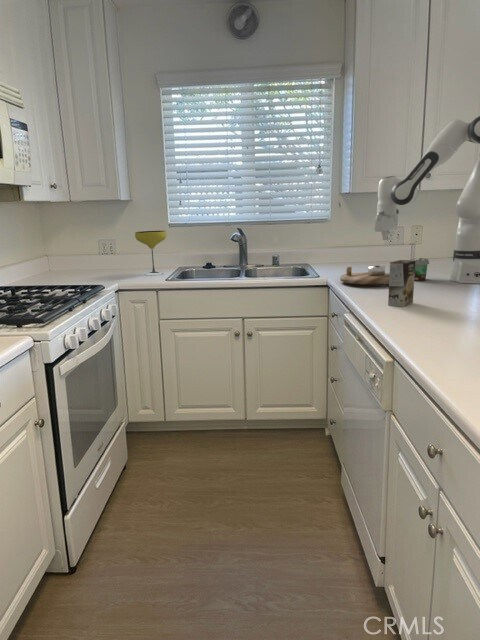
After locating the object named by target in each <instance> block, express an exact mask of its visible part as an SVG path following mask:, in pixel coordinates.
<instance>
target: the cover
mask: <svg viewBox="0 0 480 640" xmlns="http://www.w3.org/2000/svg"><path fill="white" fill-rule="evenodd" d="M367 272H368V275H370V276H383V275H385V273H386V266H385V265H380V264H379V265H378V264H377V265H368V266H367Z"/></svg>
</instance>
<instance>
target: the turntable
mask: <svg viewBox="0 0 480 640" xmlns="http://www.w3.org/2000/svg"><path fill="white" fill-rule="evenodd" d="M352 269H353V268H352V266H346V271H345V272H346V273H345V274H342V275H340V277H339V281H341V282H343V283H347V284H351V285H352V284H354V285H359V284H365V285H364V286H379V285H378V284H383V285H389V275H390V272H389V273H388V272H385V275H383V276H370V275H368V271H367V272H366V271H365V272H352V271H353V270H352Z"/></svg>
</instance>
